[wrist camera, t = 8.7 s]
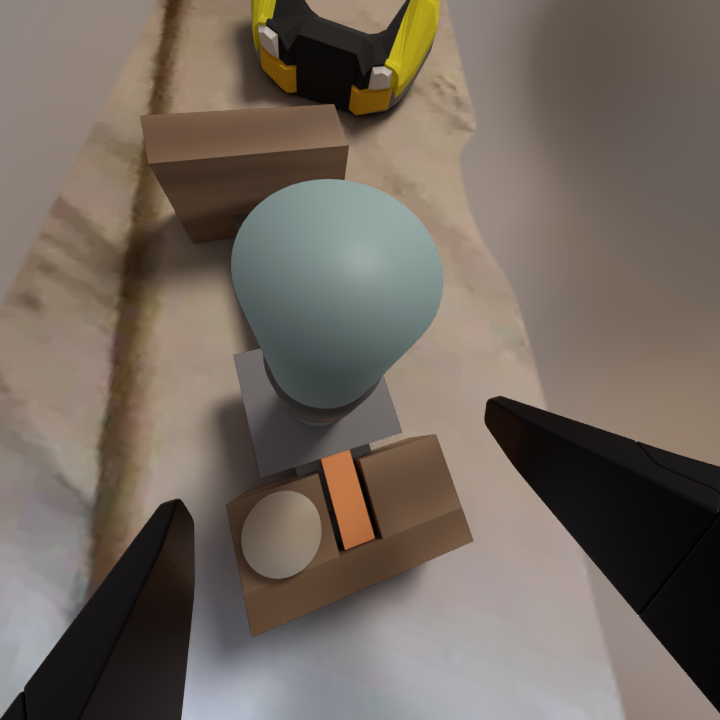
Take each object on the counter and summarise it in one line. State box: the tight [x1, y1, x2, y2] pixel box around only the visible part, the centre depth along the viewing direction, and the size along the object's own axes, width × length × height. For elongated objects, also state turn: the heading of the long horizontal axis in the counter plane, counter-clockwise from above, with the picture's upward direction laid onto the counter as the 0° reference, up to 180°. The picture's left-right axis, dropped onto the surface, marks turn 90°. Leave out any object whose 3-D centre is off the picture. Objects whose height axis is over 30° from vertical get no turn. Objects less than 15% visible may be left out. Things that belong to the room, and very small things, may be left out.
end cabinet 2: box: [226, 434, 473, 637], centre depth 15 cm, size 5×10×4 cm, turn 107°
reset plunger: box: [320, 450, 375, 550], centre depth 15 cm, size 4×1×1 cm, turn 17°
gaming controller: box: [251, 0, 440, 115], centre depth 25 cm, size 15×6×10 cm
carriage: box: [231, 179, 443, 478], centre depth 11 cm, size 6×7×13 cm
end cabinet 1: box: [140, 104, 349, 243], centre depth 19 cm, size 3×10×6 cm, turn 107°
